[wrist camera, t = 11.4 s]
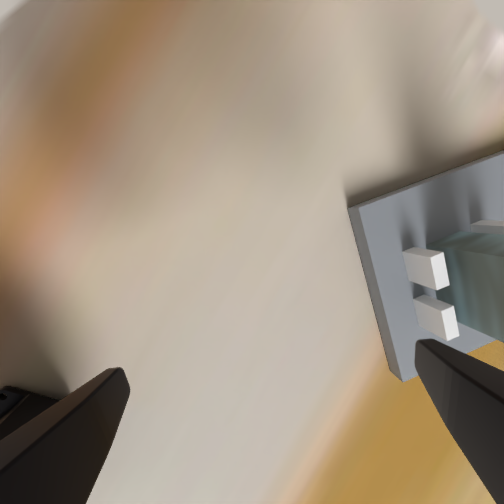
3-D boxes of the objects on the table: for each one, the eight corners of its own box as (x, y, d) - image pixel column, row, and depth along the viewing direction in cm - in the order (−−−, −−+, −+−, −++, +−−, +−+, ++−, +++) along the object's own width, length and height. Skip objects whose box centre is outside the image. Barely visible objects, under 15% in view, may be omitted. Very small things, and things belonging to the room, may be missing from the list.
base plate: (390, 371, 22) (428, 404, 18) (347, 208, 19) (381, 207, 16) (574, 288, 24) (644, 303, 20) (561, 128, 21) (639, 109, 17)
